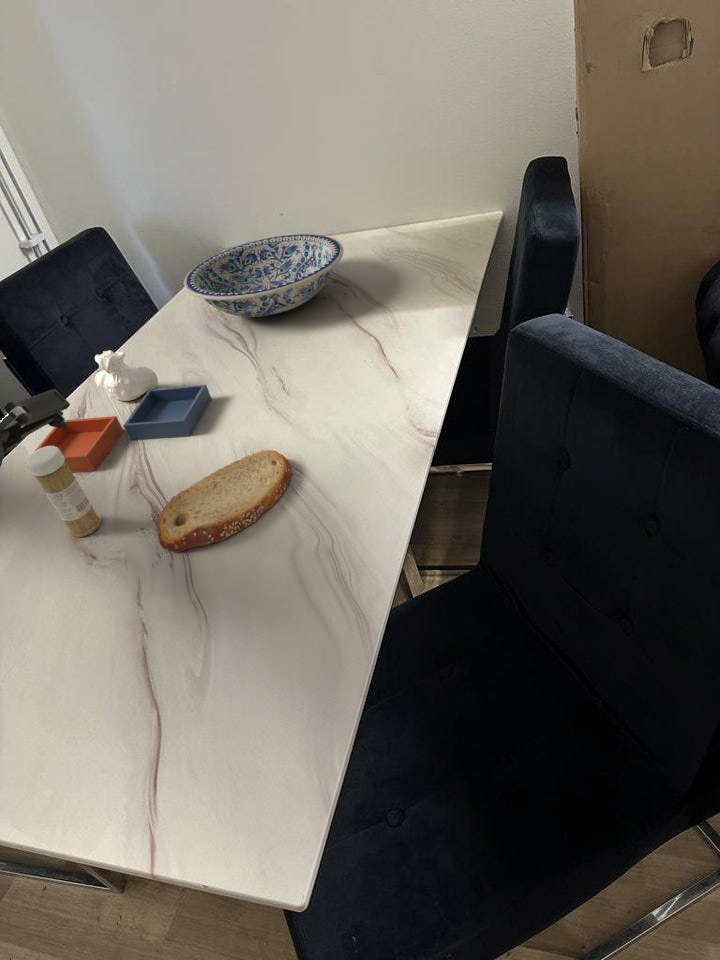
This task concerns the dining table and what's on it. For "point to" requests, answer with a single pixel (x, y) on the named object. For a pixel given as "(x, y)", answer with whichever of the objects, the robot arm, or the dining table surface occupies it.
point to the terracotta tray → (85, 441)
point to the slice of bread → (224, 501)
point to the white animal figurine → (123, 377)
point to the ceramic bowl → (265, 274)
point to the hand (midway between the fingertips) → (17, 454)
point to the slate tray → (168, 412)
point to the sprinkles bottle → (63, 490)
